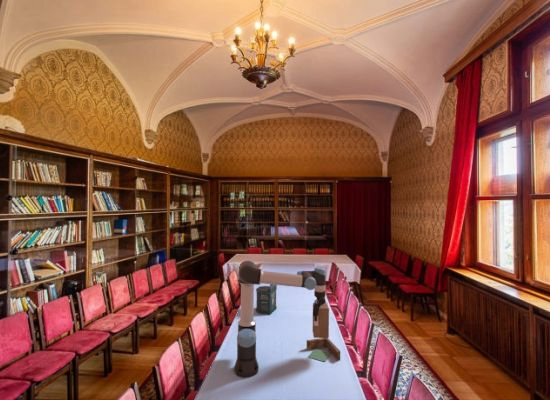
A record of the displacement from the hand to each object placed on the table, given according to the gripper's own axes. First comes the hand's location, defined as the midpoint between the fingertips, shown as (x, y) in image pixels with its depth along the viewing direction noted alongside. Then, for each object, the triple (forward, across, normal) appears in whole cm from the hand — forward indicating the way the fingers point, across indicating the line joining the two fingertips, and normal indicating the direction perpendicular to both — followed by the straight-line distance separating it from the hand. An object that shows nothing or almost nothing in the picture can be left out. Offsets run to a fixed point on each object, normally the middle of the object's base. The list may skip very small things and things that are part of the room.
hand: (319, 321), depth 204 cm
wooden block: (+9, 0, 0) cm, 9 cm away
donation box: (+23, +50, +73) cm, 91 cm away
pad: (+23, 0, 0) cm, 23 cm away
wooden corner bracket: (+23, +3, -1) cm, 23 cm away
